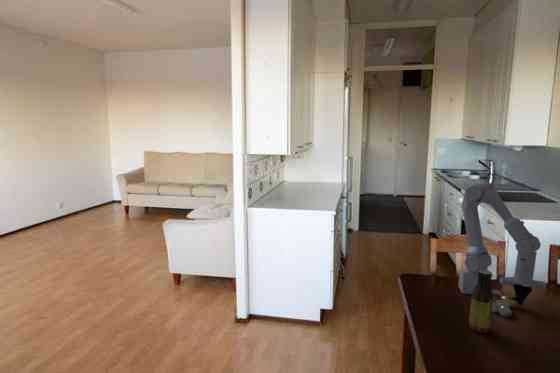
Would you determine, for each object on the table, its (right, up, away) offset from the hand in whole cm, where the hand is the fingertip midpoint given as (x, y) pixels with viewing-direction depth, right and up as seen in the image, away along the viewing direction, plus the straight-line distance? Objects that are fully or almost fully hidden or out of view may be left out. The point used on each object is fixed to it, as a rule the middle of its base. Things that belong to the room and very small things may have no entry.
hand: (519, 303), depth 140 cm
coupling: (-4, -1, +1) cm, 4 cm away
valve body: (-8, -1, +1) cm, 8 cm away
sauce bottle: (-22, -4, -14) cm, 27 cm away
